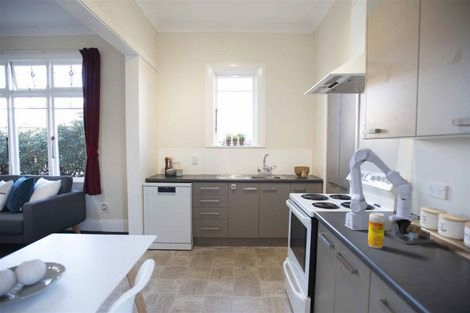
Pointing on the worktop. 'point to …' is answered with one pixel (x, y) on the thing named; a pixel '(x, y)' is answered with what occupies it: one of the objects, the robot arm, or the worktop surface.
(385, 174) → the robot arm
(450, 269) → the worktop surface
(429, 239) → the vise
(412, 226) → the block
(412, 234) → the sliding jaw
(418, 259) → the worktop surface
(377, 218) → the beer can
